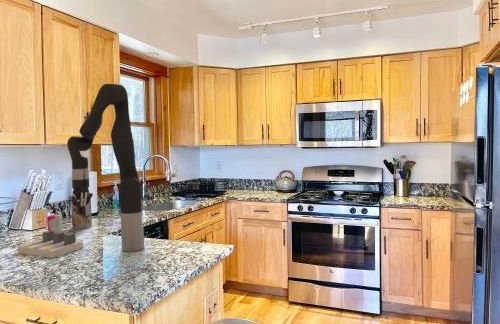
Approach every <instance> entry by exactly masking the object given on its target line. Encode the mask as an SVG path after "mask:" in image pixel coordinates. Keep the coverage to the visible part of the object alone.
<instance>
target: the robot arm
mask: <svg viewBox="0 0 500 324" xmlns="http://www.w3.org/2000/svg"><path fill="white" fill-rule="evenodd" d="M109 106H113V108H114V114H115V115H114V123H113V125H112V129H111V132H110V138H111V144H112V149H113V153H114V158H115V160H116V162H117V165H118V169H119V170H118V171H119V179H120V180H119V181H120V183H119V186H118V187H119V189H118V190H119V192H118V193H119V207H120V208H119V210H120V231H121V232H120V233H121V236H120V237H121V251H122V252H125V253H126V252H127V253H132V252H138V251H141V250H142V249H144V248H145V235H144V234H145V229H144V226H143V214H142V213H143V208H142V207H143V204H142V184H141V181H140V178H139V174H138V171H137V167H136V153H135V142H134V137H133V132H132V127H131V126H132V125H131V120H130V109H129V96H128V92H127V89H126V88H125V86H124V85H121V84H118V83H105V84H103V85H101V87H100V88H99V90H98V92H97V95H96V96H95V99H94V102H93V104H92V107H91V109H90V111H89V113H88V116H87V117H86V119H85V120H84V122H83V123H82V125H81V126H80V127H79V128H80V129H79V130H78V131H79V134H80V135H79V136H78V135H77V136H76V135H75V136H70V137H69V138H68V140H67V142H66V143H67V144H66V145H67V150H68V153H69V156H70V159H71V187H72V190H73V191H72V194H71V195H68V199H69V201H70V203H71V202H72V203H73V204H74V206H78V213H79V214H84V213H85V205H86V204H88V203H89V201H90V200H91V199H92V198H93V196H94V193H92V192H90V190H89V188H90V172H89V171H90V170H89V158H88V157H87V156H84V155H82V154H81V152H87V151H88V150H90V149H92V146H93V143H94V139H95V136H96V134H97V133H98V132H99V130H100V129H101V126H102V124H103V116H104V112H105V111H106V109H107V108H108V107H109Z"/></svg>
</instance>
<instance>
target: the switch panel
mask: <svg viewBox="0 0 500 324" xmlns="http://www.w3.org/2000/svg"><path fill="white" fill-rule="evenodd" d="M83 244H84V242H83V241H81V240H79V241H76V242H75V243H72V244H69V245H66V246H64V241H63V242H60V243H57V244H54V243H53V240H52V241H48V242H45V243H43V238H42V239H39V240H36V241H32V242H28V243H24V244H20V245H18V246H17V253H18V254H24V255H31V256H37V257H44V258H50V259H54V258H57V257H59V256H63V255H66V254H68V253H72V252H74V251H78V250H80V249H83V248H84V247H83V246H84V245H83Z"/></svg>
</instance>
